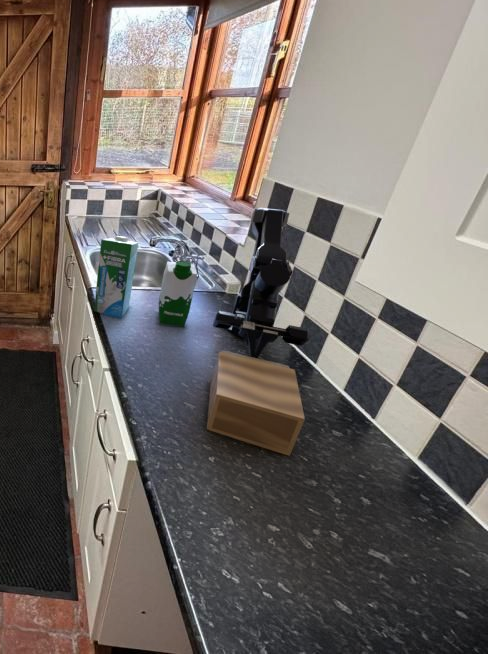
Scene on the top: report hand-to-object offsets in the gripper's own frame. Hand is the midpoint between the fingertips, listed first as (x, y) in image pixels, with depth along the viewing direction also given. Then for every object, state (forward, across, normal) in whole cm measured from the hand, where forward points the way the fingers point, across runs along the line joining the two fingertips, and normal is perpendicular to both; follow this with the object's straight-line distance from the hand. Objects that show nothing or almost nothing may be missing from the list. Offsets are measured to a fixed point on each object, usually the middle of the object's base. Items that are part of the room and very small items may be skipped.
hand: (252, 362), depth 95 cm
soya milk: (-13, +20, -23) cm, 33 cm away
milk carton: (-12, +38, -22) cm, 45 cm away
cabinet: (+13, 0, +3) cm, 13 cm away
